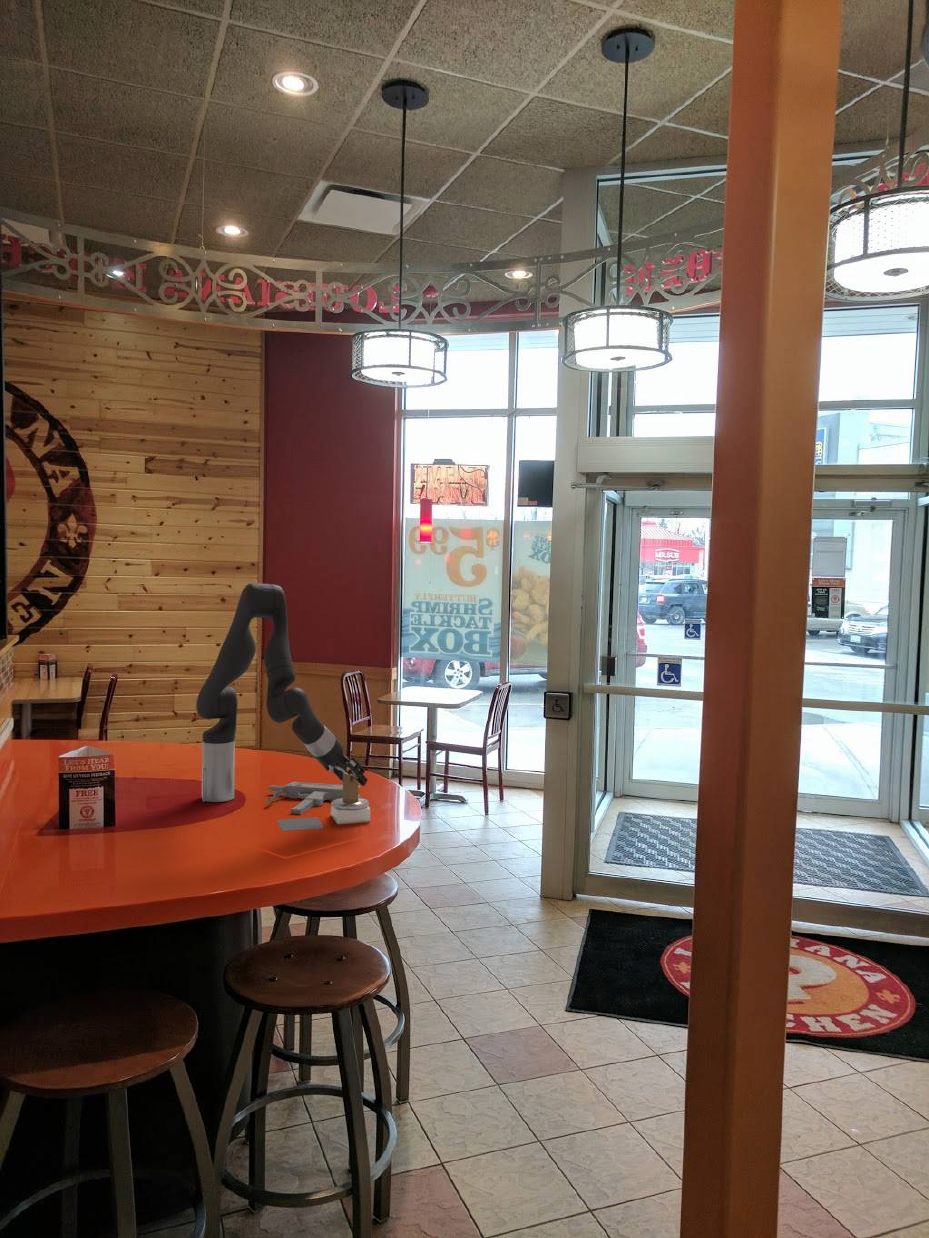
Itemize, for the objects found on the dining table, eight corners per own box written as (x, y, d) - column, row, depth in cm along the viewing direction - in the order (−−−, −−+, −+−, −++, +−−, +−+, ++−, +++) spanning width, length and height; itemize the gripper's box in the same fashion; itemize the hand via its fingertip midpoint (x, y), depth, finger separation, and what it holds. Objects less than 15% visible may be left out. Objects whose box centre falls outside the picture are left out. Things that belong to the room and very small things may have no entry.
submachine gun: (332, 807, 247) (362, 782, 271) (238, 800, 253) (276, 776, 278) (332, 823, 248) (362, 797, 272) (239, 815, 254) (276, 790, 278)
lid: (348, 812, 239) (348, 778, 238) (324, 805, 245) (324, 772, 245) (376, 805, 246) (376, 773, 246) (352, 799, 253) (352, 767, 253)
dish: (337, 825, 240) (337, 810, 240) (331, 816, 249) (331, 802, 249) (370, 823, 243) (370, 808, 243) (362, 814, 252) (363, 800, 252)
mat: (282, 832, 233) (282, 831, 233) (276, 821, 243) (276, 819, 243) (324, 829, 236) (324, 828, 236) (317, 818, 247) (317, 817, 247)
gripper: (348, 736, 235) (379, 773, 244) (313, 730, 244) (344, 765, 253) (332, 759, 231) (364, 796, 240) (297, 752, 240) (330, 787, 249)
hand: (354, 780), depth 247 cm, fingers open, 8 cm apart
